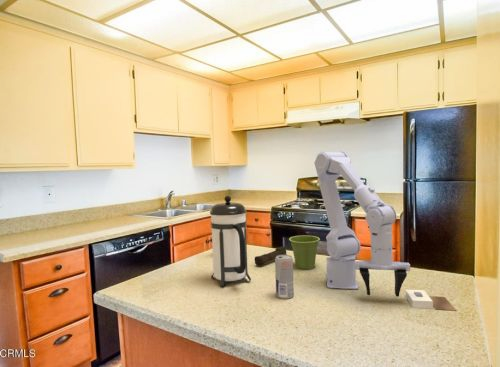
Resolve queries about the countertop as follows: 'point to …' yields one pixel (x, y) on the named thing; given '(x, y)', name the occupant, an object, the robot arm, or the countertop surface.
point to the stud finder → (419, 299)
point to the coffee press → (229, 242)
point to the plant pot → (304, 250)
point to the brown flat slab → (441, 303)
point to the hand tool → (269, 256)
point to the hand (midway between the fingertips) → (382, 294)
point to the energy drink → (284, 276)
